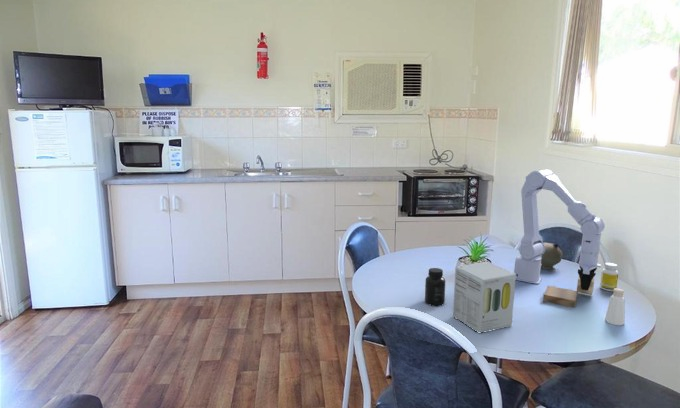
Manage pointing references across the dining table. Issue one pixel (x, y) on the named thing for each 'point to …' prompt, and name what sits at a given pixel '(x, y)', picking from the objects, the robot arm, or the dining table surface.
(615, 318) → the salt shaker
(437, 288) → the supplement bottle
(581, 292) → the maple block
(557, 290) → the walnut block
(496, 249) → the dining table surface
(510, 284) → the supplement box
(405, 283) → the dining table surface
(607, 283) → the supplement bottle
